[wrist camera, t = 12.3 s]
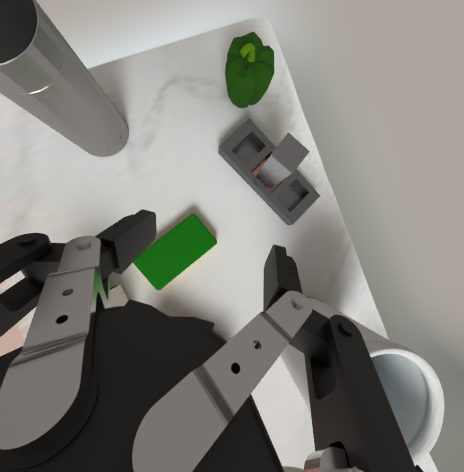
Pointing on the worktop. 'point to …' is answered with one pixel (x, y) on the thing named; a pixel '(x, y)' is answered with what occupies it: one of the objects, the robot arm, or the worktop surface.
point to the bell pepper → (248, 70)
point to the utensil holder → (390, 385)
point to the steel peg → (282, 162)
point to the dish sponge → (175, 252)
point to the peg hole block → (252, 160)
